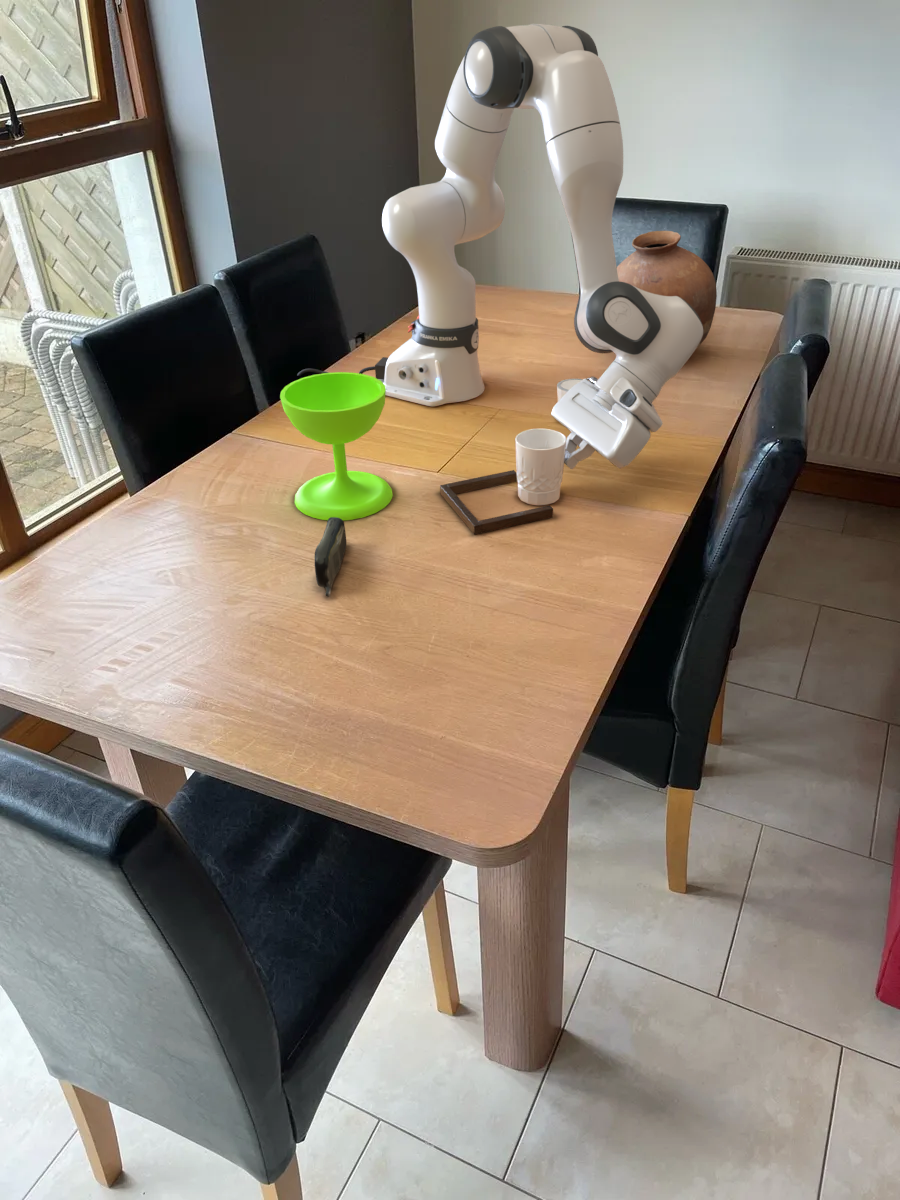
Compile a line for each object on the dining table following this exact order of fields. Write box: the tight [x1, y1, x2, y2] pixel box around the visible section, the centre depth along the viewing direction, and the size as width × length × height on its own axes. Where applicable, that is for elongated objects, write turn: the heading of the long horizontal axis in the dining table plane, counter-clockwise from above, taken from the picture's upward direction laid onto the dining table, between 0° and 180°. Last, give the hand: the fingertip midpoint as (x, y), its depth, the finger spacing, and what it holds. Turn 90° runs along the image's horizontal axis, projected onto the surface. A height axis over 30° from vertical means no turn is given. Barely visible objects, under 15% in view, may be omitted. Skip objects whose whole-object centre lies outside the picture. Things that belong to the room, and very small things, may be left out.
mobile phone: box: [314, 517, 347, 598], centre depth 130 cm, size 5×3×15 cm
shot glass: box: [556, 378, 590, 402], centre depth 170 cm, size 7×7×7 cm
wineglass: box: [279, 371, 394, 521], centre depth 144 cm, size 16×16×18 cm
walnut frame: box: [439, 469, 554, 536], centre depth 145 cm, size 13×14×2 cm
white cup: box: [514, 427, 567, 506], centre depth 145 cm, size 8×8×10 cm
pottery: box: [616, 230, 718, 348], centre depth 193 cm, size 23×23×25 cm
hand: (564, 463), depth 146 cm, fingers closed, pressing on white cup
